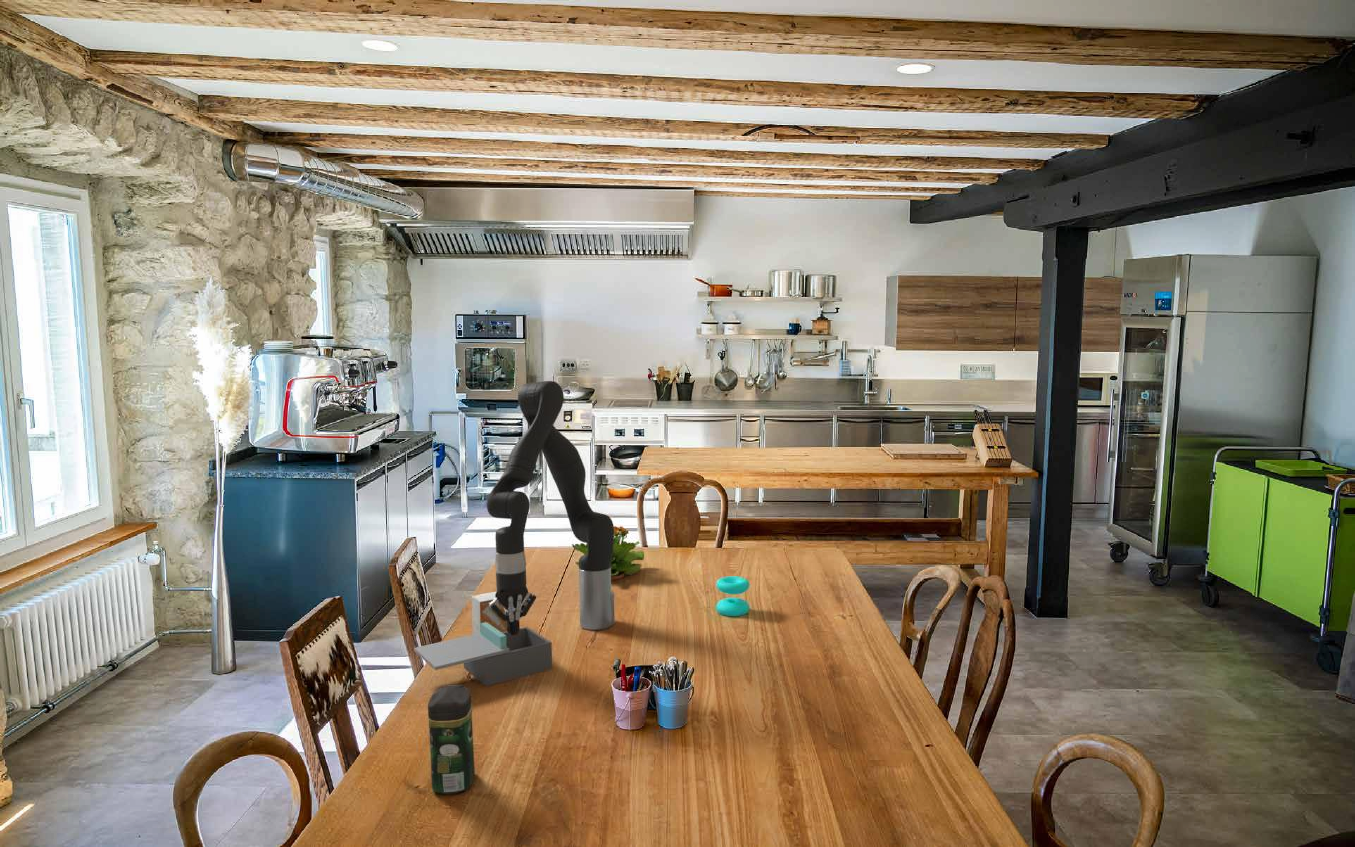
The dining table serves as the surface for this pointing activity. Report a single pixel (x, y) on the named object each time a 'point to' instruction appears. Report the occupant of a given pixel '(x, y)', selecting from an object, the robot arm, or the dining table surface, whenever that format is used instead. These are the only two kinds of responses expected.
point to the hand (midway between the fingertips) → (513, 633)
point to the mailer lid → (464, 648)
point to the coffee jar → (451, 739)
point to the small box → (486, 613)
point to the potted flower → (619, 555)
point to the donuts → (732, 604)
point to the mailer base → (514, 658)
